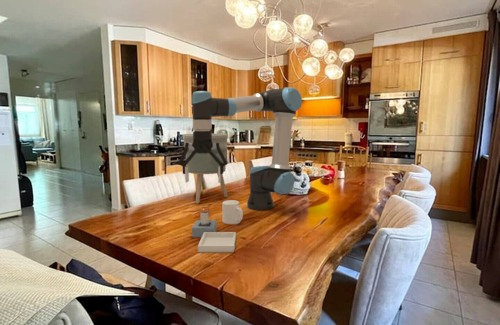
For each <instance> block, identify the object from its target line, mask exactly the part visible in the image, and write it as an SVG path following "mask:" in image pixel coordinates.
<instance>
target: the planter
mask: <svg viewBox="0 0 500 325" xmlns="http://www.w3.org/2000/svg"><path fill="white" fill-rule="evenodd" d="M228 136H229V135H228V134H227V133H213V132H212V143H217V142H219V143H220V148H221V150H222V152H223V154H224V156H225V158H226V159H227V154H228V153H227V151H228ZM187 142H189V143H193V133H185V134H183V143H184V147H185V143H187ZM194 150H195V149H194V148H193V146H191V147H190V148H189V150H188V152H187V154H186V156H185V160H186V159H187V158H188V157H189V156H190V155H191V153H192V152H193V151H194ZM211 150H212V151H213V152H214V153H215V155H216V156H217V157H218V158H219V159H220V160H221V162H222V163H224V162H223V160H222V158H221V156H220V155H219V153H218V151H217V148H215V147H214V146H213V147H212V148H211ZM186 166H188V171H189V174H192V175H196V187H195V188H196V189H195V204H199V203H200V202H201V201H200V199H201V194H202V186H203V179H204V178H203V177H204V175H215V174H217V176H218V167H219V166H220V165H219V164H218V163H217V162H216V161H215V159H214V158H213V157H212V156H211V155H210V154H209V153H206V154H204V153H201V154H199V153H196V154H195V155H194V156H193V158H192V159H191V160H190V161H189V163H188V164H187V165H186ZM226 167H227V165H225V166H224V167H223V174H224V172H226ZM223 174H221V182H220V183H219V184H220V187H221V190H222V193H223V196H224V197H223V198H229V196H228V191H227V187H226V183H225V178H224V176H223Z"/></svg>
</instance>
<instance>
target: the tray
mask: <svg viewBox="0 0 500 325" xmlns="http://www.w3.org/2000/svg"><path fill="white" fill-rule="evenodd" d="M236 239H237V232H236V231H216V232H204V233H203V236H202V237H200V241H199V242H198V245H197V253H235V248H236V247H235V246H236Z"/></svg>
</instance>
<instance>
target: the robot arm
mask: <svg viewBox="0 0 500 325" xmlns="http://www.w3.org/2000/svg"><path fill="white" fill-rule="evenodd" d="M191 98H192V100H191V105H192V130H193V132H192V134H193V143H189V142H187V143H185V146H184V149H183V152H182V153H181V156H180V158H179V160H178V162H177V165H178V166H181V167H182V175H184V179H185V181H184V182H185V183H188V182H189V181H190V177H189V174H190V173H189V171H188V166H187V164H188V163H189V161H190V160H191V159H192V158H193V156H194V155H195V154H196V153H199V154H201V153H204V154H206V153H209V154H210V155H211V156H212V157H213V158H214V159H215V161H216V162H217V163H218V164H219V165H220V166H219V167H218V175H217V177H218V179H217V180H218V183H219V184H220V182H221V174H224V172H223V167H224V166H225V165H226V166H227V165H228V164H229V163H228V162H229V161H228V160H227V157H226V158H225V156H224V154H223V152H222V150H221V148H220V143H219V142H217V143H212V133H213V132H212V131H211V130H212V129H213V128H212V127H213V126H212V125H213V124H212V119H213V118H214V117H215V118H218V117H227V118H228V117H233V116H235V115H236V114H237V113H245V112H251V111H255V112H257V113H258V112H272V114H273V116H274V117H275V119H274V120H275V122H274V133H273V143H272V144H273V146H272V156H271V164H270V165H261V166H260V165H259V166H253V167H251V168H250V170H249V171H250V173H249V186H250V187H249V188H250V193H249V196H248V199H247V201H246V206H247V208H248V209H249V210H254V211H268V210H271V209H273V208H274V207H275V202H274V200H273V196H272V192H273V193H275V194H278V195H285V194H288V193H289V192H291V190H293V187H294V185H295V182H296V181H295V175H294V174H293V173H292V172H291V171H292V170H291V169H292V168H291V166H290V165H289V161H290V160H289V159H290V151H291V150H290V149H291V148H290V147H291V139H292V138H291V137H292V128H293V126H292V125H293V119H294V118H295V117H296V116H297V111H299V110H300V108H301V107H302V103H303V101H302V100H303V99H302V95H301V93H300V91H299V90H298V89H297V88H295V87H293V86H290V87H287V86H285V87H282V88H275V89H269V90H265V91H262V92H257V93H256V92H255V93H254V94H253V95H247V96H236V97H228V98H227V97H226V98H221V97H213V96H212V93H211V92H210V91H206V90H198V91H197V90H196V91H194V92H193V93H192V97H191ZM191 146H193V148H194V149H195V150H194V151H193V152H192V153H191V155H190V156H189V157H188V158H187V159H186V154H187V152H188V150H189V148H190V147H191ZM213 146H214V147H215V148H217V151H218V153H219V155H220V156H221V158H222V160H223V162H224V163H222V162H221V160H220V159H219V158H218V157H217V156H216V155H215V153H214V152H213V151H212V150H211V148H212V147H213ZM184 160H185V161H184Z"/></svg>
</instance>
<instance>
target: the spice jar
mask: <svg viewBox="0 0 500 325" xmlns="http://www.w3.org/2000/svg"><path fill="white" fill-rule="evenodd" d="M209 209H210V208H209V206H202V207H200V208H199V214H200V216H199V218H200V223H201V226H209V220H210V213H209V212H210V210H209Z"/></svg>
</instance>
